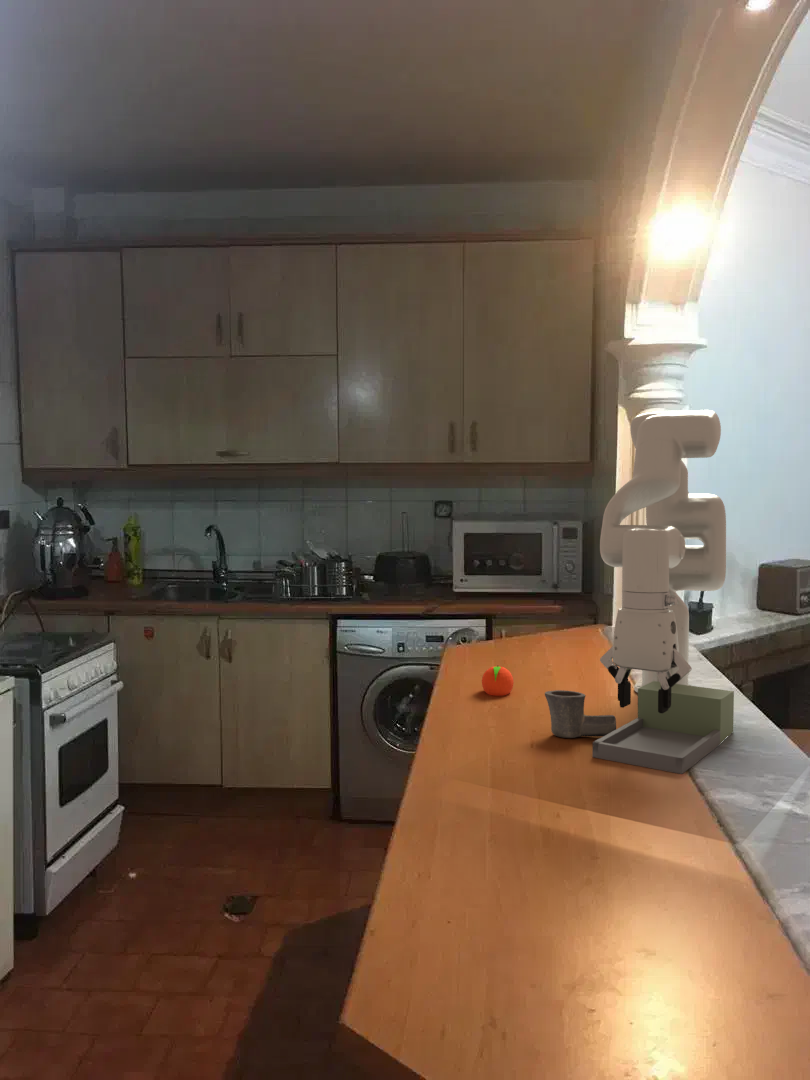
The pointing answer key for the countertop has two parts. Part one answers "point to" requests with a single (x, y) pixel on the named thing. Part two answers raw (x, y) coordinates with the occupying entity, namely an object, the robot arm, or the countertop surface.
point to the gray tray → (671, 729)
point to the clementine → (497, 681)
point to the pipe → (575, 716)
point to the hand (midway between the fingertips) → (644, 707)
